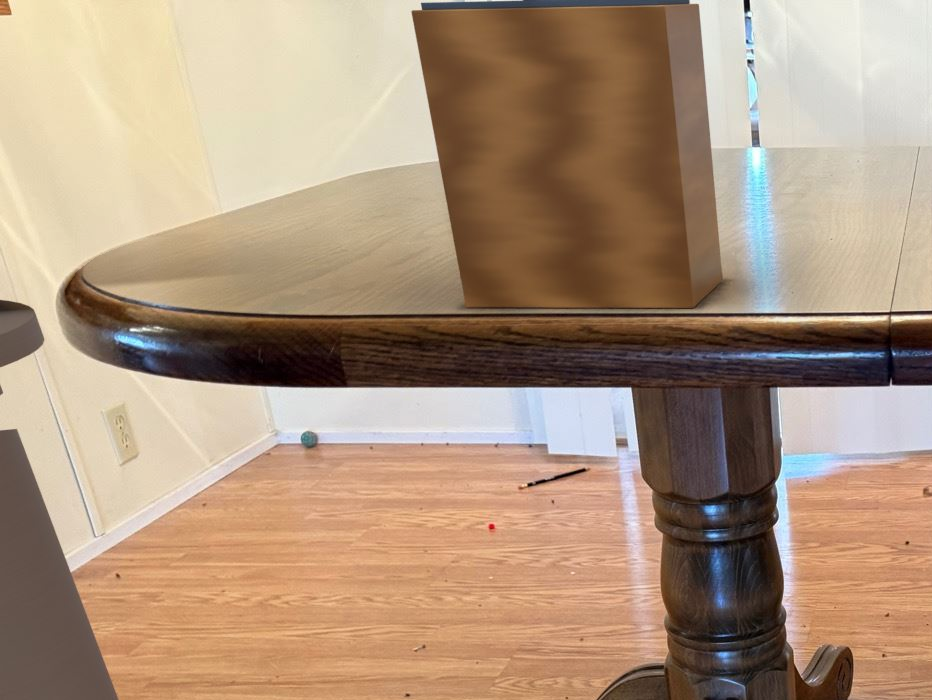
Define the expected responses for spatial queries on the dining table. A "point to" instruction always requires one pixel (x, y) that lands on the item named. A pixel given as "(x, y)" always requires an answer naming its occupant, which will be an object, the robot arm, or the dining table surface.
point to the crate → (574, 154)
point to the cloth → (544, 4)
